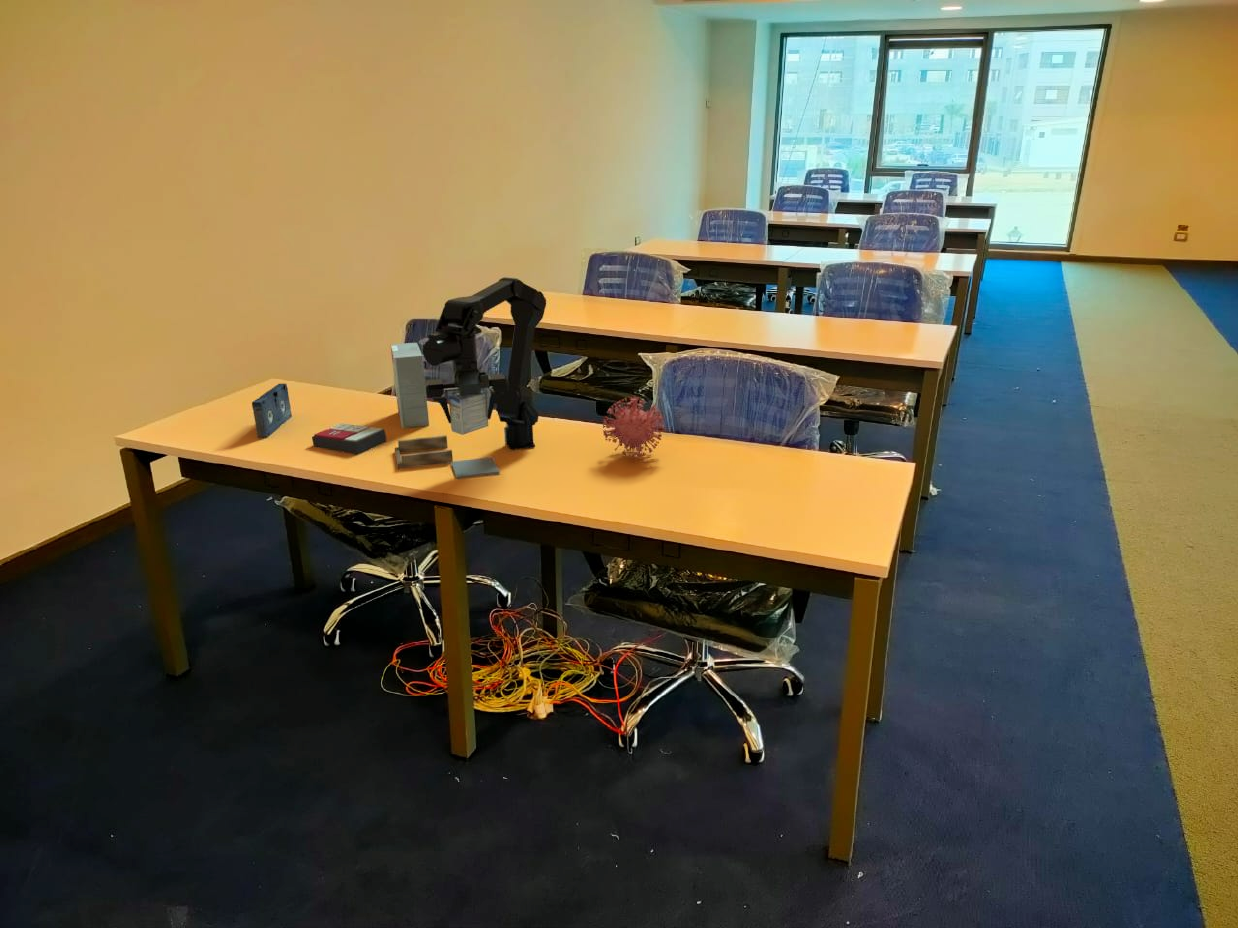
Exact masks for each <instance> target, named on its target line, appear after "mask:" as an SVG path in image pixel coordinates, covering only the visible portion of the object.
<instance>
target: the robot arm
mask: <svg viewBox="0 0 1238 928" xmlns="http://www.w3.org/2000/svg"><path fill="white" fill-rule="evenodd" d="M504 302H506V303H507V304H509V305H510V315H511V318H512V320H513V322H514V330H513V338H512V345H511V351H510V357H509V365H508V373H507V376H506V375H505V374H504V373H495V374H494V373H493V374H489V371H479V366H478V365H479V364H478V352H477V337H476V335H477V334H481V333H482V328H479V327H478V326H477V324H478V323H479V322H481V321H482V320H483V318H484V315H485V313H487V312H488V311H490V310H491V309H493V308H495V307H497V306H499V305H500V304H502V303H504ZM546 307H547V299H546V297H545V295H544V294H543V292H542V291H541V290H537V289H536V288H533V287H531V286H529V284H528V285H527V284H526V283H524V282H523V281H522V280H520V279H519V278H515V277H505V276H504V277H501V278H499V280H498V281H496V282H494V283H493V284H491V285H489V286H487V287H485V288H484V289H482V290H480V291H477V292H476V293H474V294H471V295H469V296H460V297H455V298H451V299H447V301H446V302H445V303H444V306H443V309H442V312H441V314H440V316H439V320H438V322H437V325H436V327H435V331H434V332H435V333H430V334H428V339H427V341H425V343H424V345H423V348H422V356H423V359H425V361H426V362H427V364H429V365H431V366H433V367H437V366H441V365H443V364H446V363H450V362H451V364H452V365H451V366H452V374H453V375H452V376H453V382H443V380H442V378H437V379H425V383H424V385H425V393H426V397H427V398H428V399H432V401H435V402H436V401H437V402H438V404H439V406H441V408H442V410H443V412H444V415H445V417H446V420H447V422H448V424H451V418H450V408H449V404H448V401H447V397H446V394H445V392H451V391H452V392H454V391H458V393H459V394H460V396H467V395H479V394H481V391H482V389H486V388H487V394H486V395H487V411H488V420H491V417H492V414H493V411H494V408H495V411H496V412H497V415H498V419H499V421H500V422H501V423H505V426H504V427H503V431H504V432H503V433H504V442H505V445H506V446H507V447H508V449H509V450H511V451H512V450H520V449H528V448H530V449H531V448H535V447H536V444H535V442H534V430H533V429H534V427H533V426H535V425H536V424H537V423H538V421H539V415H540V414H539V412H538V411H537V410H536V409H535V408H534V407H533V406H532V395H531V392H530V390H529V387H528V380H529V379H528V378H529V373H530V371H529V370H530V365H531V358H532V350H533V346H534V345H533V343H534V339H535V338H534V336H535V331H536V327H537V326H538V325H539V323H540V322H541V321H542V320H543V318H544V315H545V311H546Z"/></svg>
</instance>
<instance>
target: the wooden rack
mask: <svg viewBox="0 0 1238 928" xmlns="http://www.w3.org/2000/svg"><path fill="white" fill-rule="evenodd" d="M447 438H448V437H447V435H445V434H444V435H437V436H427V437H417V438H409V439H407V438H406V439H398V440H397V444H398V446H396V447H394V453H395V454H394V455H395V460H396V464H397V465H396V466H397V469H407V468H408V469H409V468H415V467H424V466H433V465H443V464H451V462H453V461H454V457H453V450H452V449H448V439H447ZM439 449H443V450H439ZM444 449H445V450H444ZM428 450H433V451H428ZM435 450H436V451H435ZM420 451H426V452H420ZM411 452H416V453H411ZM417 452H418V453H417ZM402 453H407V454H402Z"/></svg>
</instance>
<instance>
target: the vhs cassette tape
mask: <svg viewBox="0 0 1238 928" xmlns="http://www.w3.org/2000/svg"><path fill="white" fill-rule="evenodd" d="M251 405H252V411H253V417H254V423H255V427H256V428H255V429H256V434H257V437H258V439H266V438H267V439H268V438H269V437H270V436H271V435H272V434H274V433H275V432H277V430H278V429H280V428H281V427H282V426H283V425H284V424H286V422H287V420H288V421H289V420H290V419H291V418H293V414H292V410H291V409H292V408H291V401H290V396H289V388H288V385H287V383H278V384H276V385H275V386H273V387H272V388H271V389H269V390H267V391H266V392H264V393H263V394H262V395H261V396H259V397H258V398H256V399H255V400H253V401H252V402H251ZM282 424H283V425H282ZM281 425H282V426H281ZM280 426H281V427H280Z"/></svg>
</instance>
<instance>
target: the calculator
mask: <svg viewBox="0 0 1238 928" xmlns="http://www.w3.org/2000/svg"><path fill="white" fill-rule="evenodd" d="M386 436H387V435H386V431H385V429H383V428H382V427H370V426H367V425H360V424H352V423H351V424H350V423H339V424H336V425H333V426H332V427H329V428H328V429H324V430H321V431H320V432H317V433H314V434H313V436H312V437H311V440H312V446H313V447H314V448H318V447H319V448H320V449H325V450H328V451H329V450H330V451H337V452H344V453H346V454H350V455H357V456H358V455H359V456H360V455H361V454H363V453H365V452H367V451H370V450H372V449H374V448H375V447H376V448H377V447H379V446H380V445H382V444H384V443H386V442H387V437H386ZM371 448H372V449H371ZM369 449H370V450H369Z"/></svg>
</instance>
